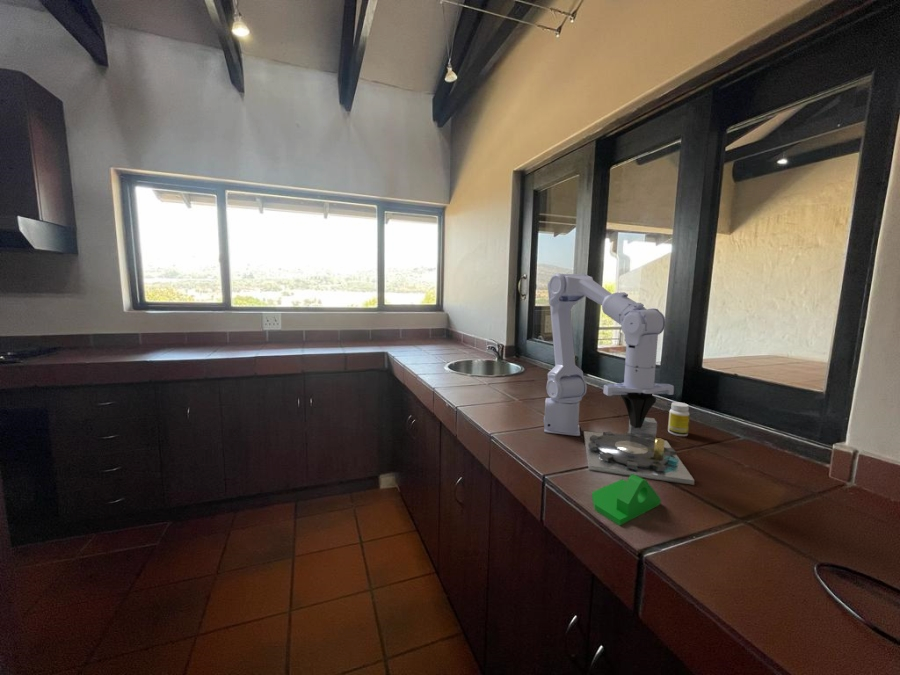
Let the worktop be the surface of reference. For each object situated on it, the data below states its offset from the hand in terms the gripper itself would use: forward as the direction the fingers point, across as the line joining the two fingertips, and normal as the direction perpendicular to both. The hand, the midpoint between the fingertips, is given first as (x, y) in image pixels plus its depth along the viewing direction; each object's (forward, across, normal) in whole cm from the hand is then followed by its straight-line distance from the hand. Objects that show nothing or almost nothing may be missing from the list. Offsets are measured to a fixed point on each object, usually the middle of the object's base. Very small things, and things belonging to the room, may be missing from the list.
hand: (635, 426), depth 76 cm
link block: (+10, +12, +17) cm, 23 cm away
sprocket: (+9, +3, +6) cm, 11 cm away
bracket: (+10, -10, -12) cm, 19 cm away
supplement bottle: (+10, +24, +18) cm, 31 cm away
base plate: (+10, +3, +6) cm, 12 cm away
